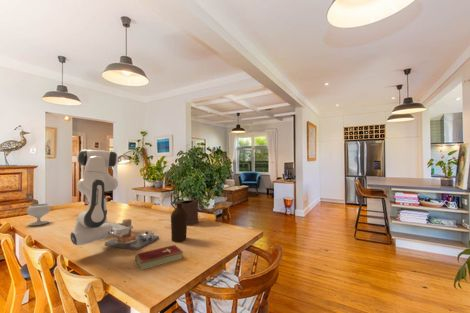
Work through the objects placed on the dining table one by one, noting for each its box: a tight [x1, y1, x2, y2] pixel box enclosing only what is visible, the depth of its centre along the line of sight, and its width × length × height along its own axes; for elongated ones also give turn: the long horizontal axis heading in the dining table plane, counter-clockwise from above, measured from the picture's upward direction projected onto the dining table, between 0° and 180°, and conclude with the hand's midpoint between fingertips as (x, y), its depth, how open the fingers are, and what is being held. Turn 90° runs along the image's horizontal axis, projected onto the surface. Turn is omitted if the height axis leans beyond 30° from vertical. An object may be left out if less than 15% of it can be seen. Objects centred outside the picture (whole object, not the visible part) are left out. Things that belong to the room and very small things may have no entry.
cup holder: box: [170, 192, 200, 227], centre depth 181 cm, size 18×24×25 cm
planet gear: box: [116, 218, 136, 243], centre depth 136 cm, size 11×11×12 cm
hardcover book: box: [135, 244, 184, 270], centre depth 113 cm, size 12×21×4 cm, turn 127°
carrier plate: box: [104, 231, 160, 251], centre depth 137 cm, size 24×20×6 cm
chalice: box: [26, 203, 51, 226], centre depth 175 cm, size 14×14×15 cm
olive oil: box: [170, 200, 188, 243], centre depth 141 cm, size 11×11×25 cm
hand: (128, 225), depth 137 cm, fingers open, 8 cm apart
